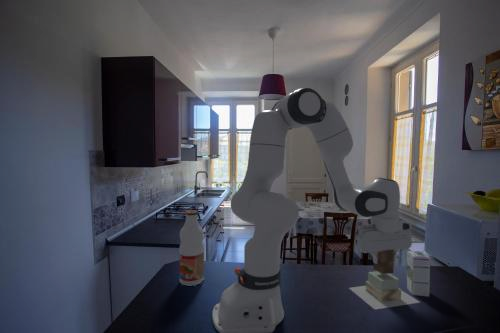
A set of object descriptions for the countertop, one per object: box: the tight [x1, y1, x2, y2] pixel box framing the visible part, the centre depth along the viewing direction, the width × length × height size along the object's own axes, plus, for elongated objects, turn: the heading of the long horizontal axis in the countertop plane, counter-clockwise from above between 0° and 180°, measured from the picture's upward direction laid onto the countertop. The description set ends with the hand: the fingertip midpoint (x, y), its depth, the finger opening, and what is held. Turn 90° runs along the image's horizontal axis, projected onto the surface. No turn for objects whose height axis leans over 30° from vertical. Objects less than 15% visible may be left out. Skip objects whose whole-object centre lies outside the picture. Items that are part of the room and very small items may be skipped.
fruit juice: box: [178, 209, 205, 286], centre depth 102 cm, size 9×9×28 cm
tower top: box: [367, 270, 400, 291], centre depth 93 cm, size 7×7×4 cm
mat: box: [348, 285, 421, 310], centre depth 93 cm, size 18×14×1 cm
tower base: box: [365, 280, 402, 302], centre depth 93 cm, size 8×8×4 cm
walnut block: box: [373, 250, 395, 274], centre depth 93 cm, size 4×4×8 cm
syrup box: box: [406, 250, 431, 297], centre depth 95 cm, size 6×6×14 cm
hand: (383, 262), depth 93 cm, fingers closed on walnut block, 4 cm apart
